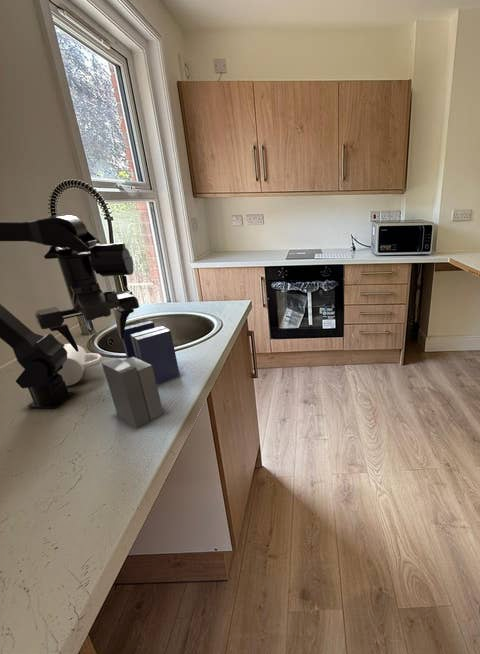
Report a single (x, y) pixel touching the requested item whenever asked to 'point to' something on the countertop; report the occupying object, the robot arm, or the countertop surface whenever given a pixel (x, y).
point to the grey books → (133, 390)
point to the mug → (77, 364)
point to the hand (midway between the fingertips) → (100, 344)
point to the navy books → (157, 352)
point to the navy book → (131, 330)
